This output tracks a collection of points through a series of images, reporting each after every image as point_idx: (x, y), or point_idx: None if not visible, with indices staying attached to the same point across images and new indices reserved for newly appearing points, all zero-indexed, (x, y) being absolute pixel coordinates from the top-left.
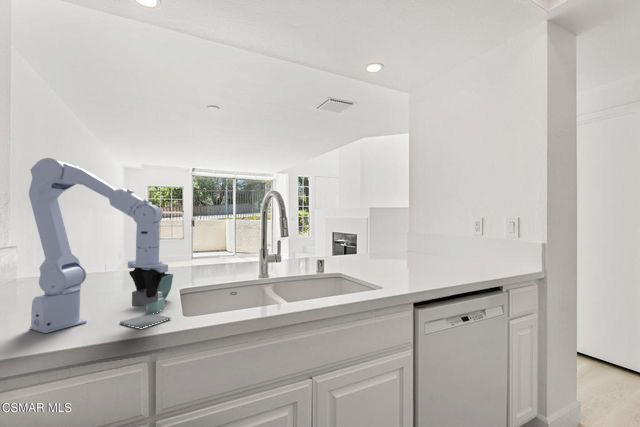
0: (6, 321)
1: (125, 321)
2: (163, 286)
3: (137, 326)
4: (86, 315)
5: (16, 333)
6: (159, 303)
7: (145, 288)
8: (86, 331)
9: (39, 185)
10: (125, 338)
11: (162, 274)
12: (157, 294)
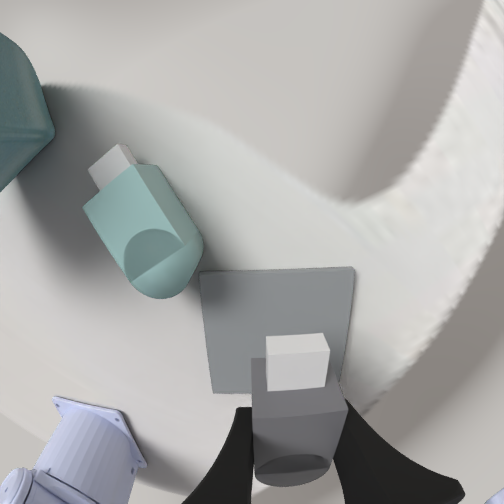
0: (19, 425)
1: (225, 383)
2: (15, 102)
3: None
4: (44, 366)
5: None
6: (178, 224)
7: (251, 440)
8: (201, 441)
9: None
10: None
11: (444, 488)
12: (337, 384)
